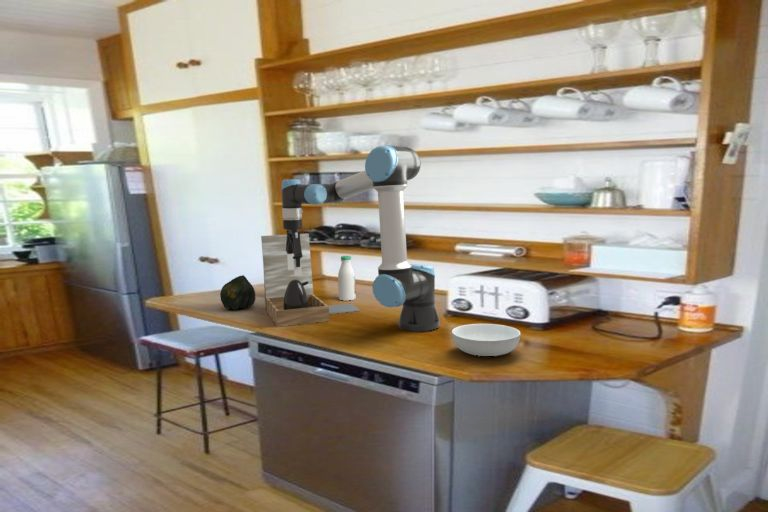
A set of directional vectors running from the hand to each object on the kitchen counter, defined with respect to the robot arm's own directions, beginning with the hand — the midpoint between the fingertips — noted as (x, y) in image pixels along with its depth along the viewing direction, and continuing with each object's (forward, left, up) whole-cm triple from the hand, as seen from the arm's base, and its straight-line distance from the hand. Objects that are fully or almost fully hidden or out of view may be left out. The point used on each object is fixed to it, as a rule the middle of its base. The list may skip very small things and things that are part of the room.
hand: (294, 272), depth 222 cm
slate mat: (+5, -19, -18) cm, 27 cm away
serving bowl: (-72, -44, -18) cm, 87 cm away
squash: (+27, +20, -18) cm, 38 cm away
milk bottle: (+23, -28, -18) cm, 41 cm away
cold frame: (+3, 0, -18) cm, 18 cm away
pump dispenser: (0, 0, -18) cm, 18 cm away
